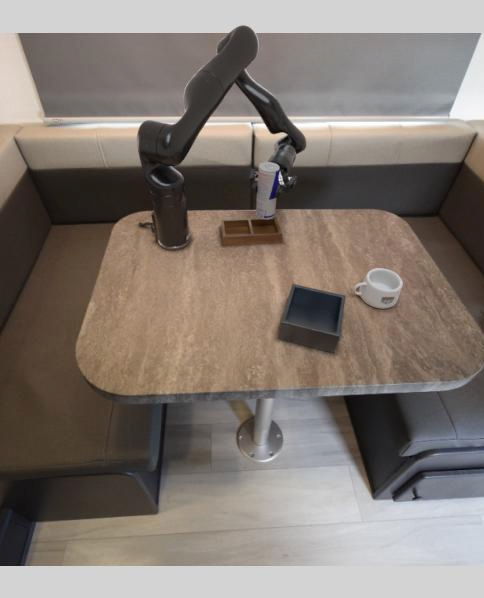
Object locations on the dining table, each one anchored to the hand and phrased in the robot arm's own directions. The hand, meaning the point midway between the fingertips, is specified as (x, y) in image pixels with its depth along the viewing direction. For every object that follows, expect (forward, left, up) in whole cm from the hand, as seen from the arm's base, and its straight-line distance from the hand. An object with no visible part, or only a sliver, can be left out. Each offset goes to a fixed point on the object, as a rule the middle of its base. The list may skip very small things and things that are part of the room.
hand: (265, 193), depth 95 cm
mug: (+36, -8, -15) cm, 40 cm away
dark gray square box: (+25, -25, -15) cm, 38 cm away
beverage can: (0, +2, -9) cm, 9 cm away
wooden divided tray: (-4, 0, -15) cm, 16 cm away
